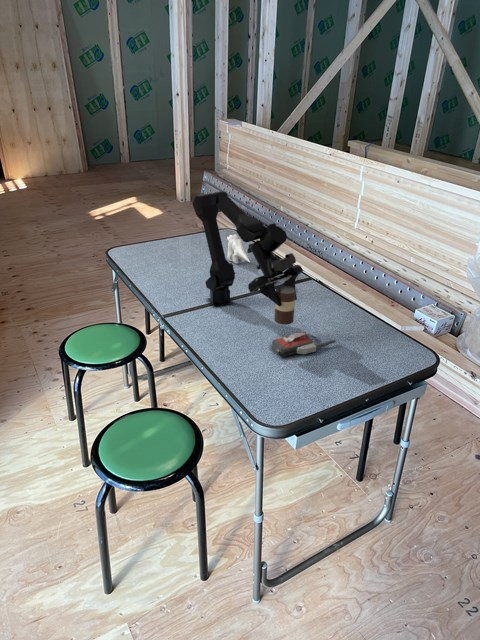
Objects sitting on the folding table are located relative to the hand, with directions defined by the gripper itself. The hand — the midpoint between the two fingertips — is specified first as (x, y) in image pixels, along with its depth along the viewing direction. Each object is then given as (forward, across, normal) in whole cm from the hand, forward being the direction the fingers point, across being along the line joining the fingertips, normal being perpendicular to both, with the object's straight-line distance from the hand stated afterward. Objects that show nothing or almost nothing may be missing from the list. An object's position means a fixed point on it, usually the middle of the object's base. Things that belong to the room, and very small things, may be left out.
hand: (288, 302), depth 150 cm
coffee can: (+4, 0, +6) cm, 7 cm away
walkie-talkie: (+14, +1, +5) cm, 15 cm away
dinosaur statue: (-33, +30, +53) cm, 69 cm away
